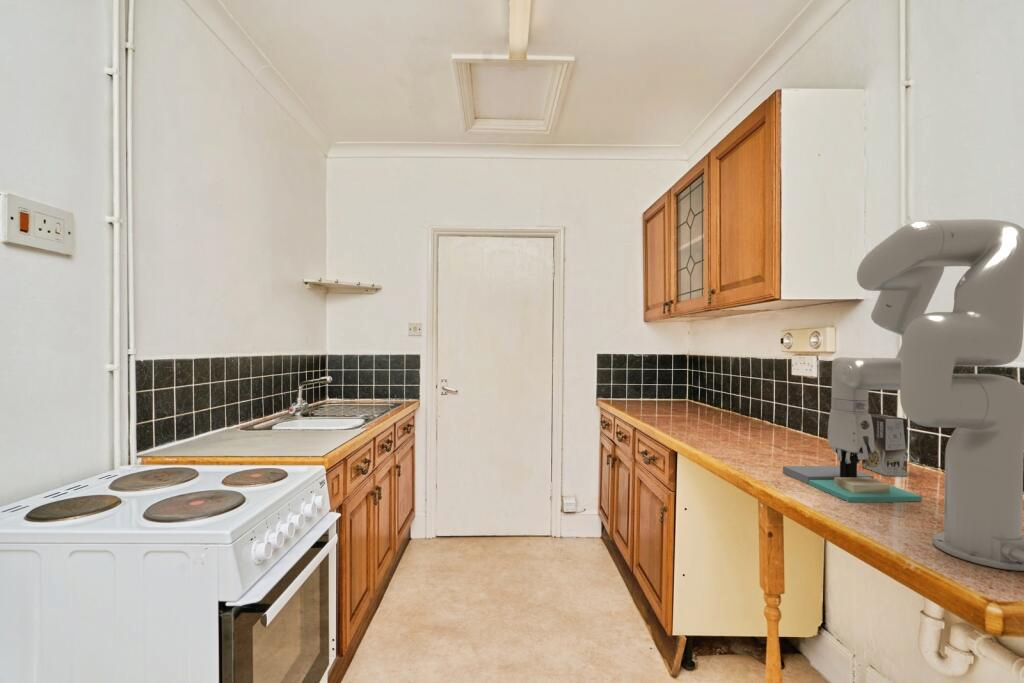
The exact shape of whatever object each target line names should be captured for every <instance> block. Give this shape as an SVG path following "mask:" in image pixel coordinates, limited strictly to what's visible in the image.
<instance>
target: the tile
mask: <svg viewBox="0 0 1024 683" xmlns="http://www.w3.org/2000/svg"><path fill="white" fill-rule="evenodd" d="M834 485H835V486H837V487H840V488H842V489H844V490H847V491H849V492H851V493H890V485H891V484H889V483H885V482H882V481H880V480H878V479H875V478H873V479H872V478H869V477H834Z"/></svg>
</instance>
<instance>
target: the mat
mask: <svg viewBox="0 0 1024 683" xmlns="http://www.w3.org/2000/svg"><path fill="white" fill-rule="evenodd" d="M889 485H890V493H851V492H849V491H847V490H844V489H842V488H840V487H837V486H835V485H834V480H809V484H808V486H811V487H814V488H815V487H816V489H818V490H820V491H822V492H824V491H825V492H824V493H826V492H827V493H826V494H829V493H830V494H829V495H831V494H832V496H833V495H834V496H833V497H835V496H837V497H836V498H838V497H839V498H838V499H840V498H841V500H842V499H844V500H846V501H845V502H847V501H848V502H847V503H895V502H896V503H899V502H900V503H903V501H904V503H906V502H905V501H923V497H922V495H919V494H916V493H914V492H911V491H908V490H905V489H902V488H899V487H897V486H894V485H891V484H889ZM844 500H843V501H844Z"/></svg>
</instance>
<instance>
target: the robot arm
mask: <svg viewBox="0 0 1024 683" xmlns="http://www.w3.org/2000/svg"><path fill="white" fill-rule="evenodd" d="M946 267H969V268H968V269H967V270H966V271H965V273H963V275H961V278H960V279H959V280H958V282H957V284H956V285H955V288H954V293H953V296H954V297H953V308H952V309H953V310H952V311H935V312H928V313H926V310H927V308H928V306H929V305H930V302H931V300H932V297H933V295H934V294H935V291H936V289H937V288H938V285H939V283H940V281H941V279H942V277H943V275H944V272H945V268H946ZM856 281H857V283H858V285H859V287H860V288H862V289H864V290H866V291H868V292H870V291H872V292H874V291H877V292H879V295H878V297H877V300H876V302H875V304H874V307H873V310H872V312H871V314H870V318H871V320H872V322H873V323H874V324H876V325H877V326H879V327H880V328H883V329H885V330H887V331H889V332H892V333H894V334H898V335H899V336H900V337H901V345H900V347H899V350H898V353H897V354H896V357H895V358H894V357H888V358H887V357H837V358H834V359H833V360H832V362H831V402H830V403H831V404H830V406H831V407H830V408H831V409H830V411H829V416H828V424H827V442H828V444H829V445H830V450H832V451H833V452H834V453H836V454H837V459H838V461H839V466H840V477H857V471H858V465H859V464H860V461H862V460H868V459H869V457H868V453H873V452H874V430H873V423H872V418H871V415H870V414H871V413H869V409H870V406H869V391H870V390H871V391H873V390H874V391H876V390H879V391H880V390H881V391H882V390H883V391H885V390H886V391H899V400H900V401H899V402H900V405H901V406H900V407H901V409H902V411H903V413H904V415H905V416H906V418H907V419H908V420H910V421H911V422H913V424H916V425H919V426H922V427H928V428H946V429H948V428H949V429H951V428H952V429H953V428H954V430H953V432H952V434H951V435H950V437H949V438H948V441H947V442H946V446H945V451H944V514H943V515H944V516H943V517H944V518H943V519H944V520H943V521H944V522H943V524H944V527H943V528H944V529H943V530H944V531H943V532H936V533H935V534H933V535H932V543H933V545H934V546H935V547H936V548H938V549H939V550H941V551H943V552H945V553H947V554H948V555H951V556H954V557H956V558H958V559H960V560H964V561H967V562H970V563H974V564H977V565H982V566H986V567H990V568H995V569H1001V570H1007V571H1018V572H1020V571H1021V572H1024V537H1023V524H1024V522H1023V521H1024V520H1023V519H1024V518H1023V517H1024V515H1023V514H1024V513H1023V512H1024V506H1023V505H1024V501H1023V500H1024V498H1023V497H1024V384H1022V383H1021V382H1019V381H1018V380H1016V379H1013V378H1011V377H1007V376H1004V375H999V374H993V373H992V374H991V373H954V368H955V367H997V366H1004V365H1008V364H1010V363H1012V362H1014V361H1015V360H1016V359H1018V357H1019V355H1020V353H1021V351H1022V347H1023V339H1024V227H1022V226H1020V225H1018V224H1017V223H1015V222H1011V221H1008V220H1007V221H1005V220H998V219H985V218H984V219H982V218H981V219H977V218H976V219H974V218H973V219H971V218H968V219H935V220H934V219H930V220H919V221H917V220H916V221H913V222H909V223H907V224H905V225H904V226H901V227H899V229H897V230H895V231H894V232H893V233H892V234H891V235H889V236H888V237H887V238H884V239H883V241H881V242H880V243H878V244H877V245H876V246H875V247H874V248H872V249H871V250H870V251H868V253H867V254H866V255H865V256H864V258H863V259H862V260H861V262H860V263H859V265H858V268H857V272H856Z"/></svg>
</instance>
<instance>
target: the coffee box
mask: <svg viewBox="0 0 1024 683" xmlns="http://www.w3.org/2000/svg"><path fill="white" fill-rule="evenodd" d="M869 414H870V415H871V418H872V423H873V430H874V452H873V453H868V457H869V459H868V460H861V468H863V467H864V469H865V468H866V470H868V469H869V470H868V471H871V470H872V471H871V472H875V473H878V474H880V475H883V476H890V477H891V476H893V477H894V476H895V477H896V476H897V477H907V476H908V420H909V418H903V417H899V416H898V417H897V416H892V415H888V414H884V413H883V414H882V413H878V414H877V413H874V414H872V413H869Z"/></svg>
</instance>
